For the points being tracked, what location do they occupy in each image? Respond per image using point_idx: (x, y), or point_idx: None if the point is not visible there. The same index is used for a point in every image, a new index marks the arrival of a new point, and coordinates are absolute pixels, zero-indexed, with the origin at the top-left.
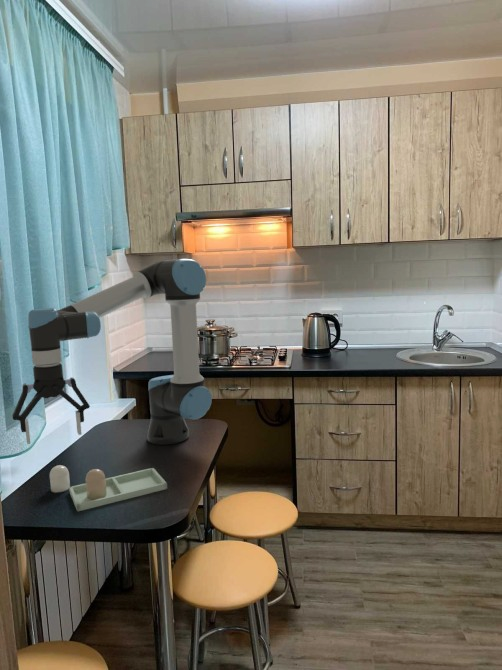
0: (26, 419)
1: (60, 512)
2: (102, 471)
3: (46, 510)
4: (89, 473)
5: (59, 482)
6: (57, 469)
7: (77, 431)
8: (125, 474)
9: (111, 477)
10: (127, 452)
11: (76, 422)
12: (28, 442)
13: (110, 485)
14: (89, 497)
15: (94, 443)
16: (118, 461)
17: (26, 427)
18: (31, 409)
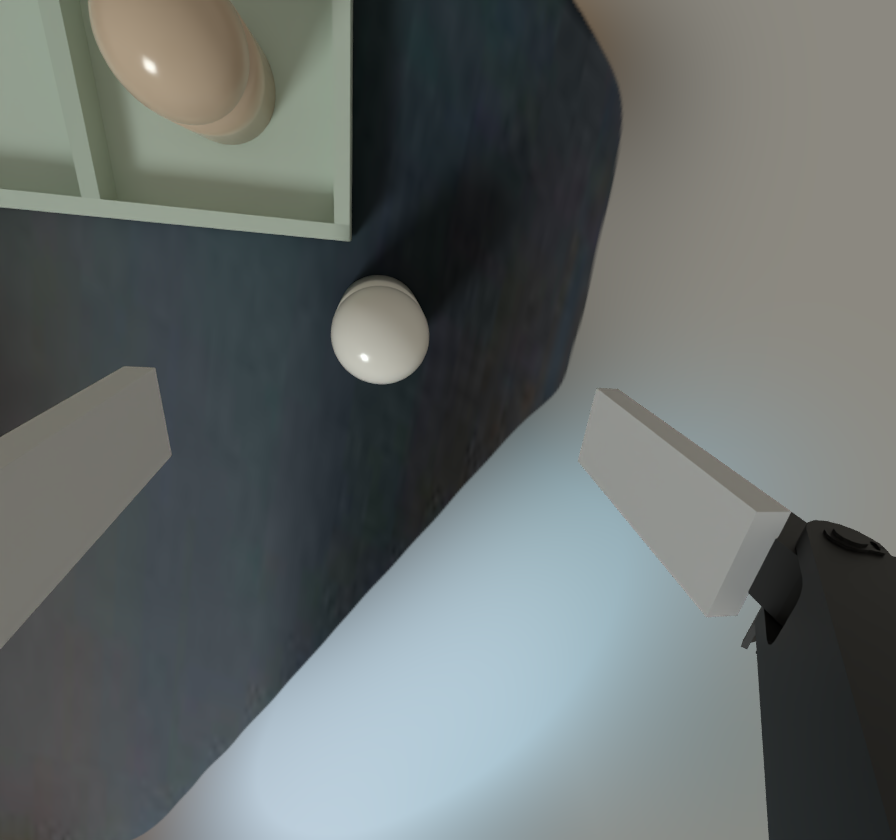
0: (736, 579)
1: (424, 63)
2: (90, 14)
3: (474, 144)
4: (197, 10)
5: (389, 283)
6: (392, 317)
7: (161, 446)
8: (4, 199)
9: (103, 215)
10: None
11: (113, 514)
12: (615, 393)
13: (130, 179)
14: (262, 51)
15: (188, 699)
16: None
17: (716, 461)
18: (866, 675)
